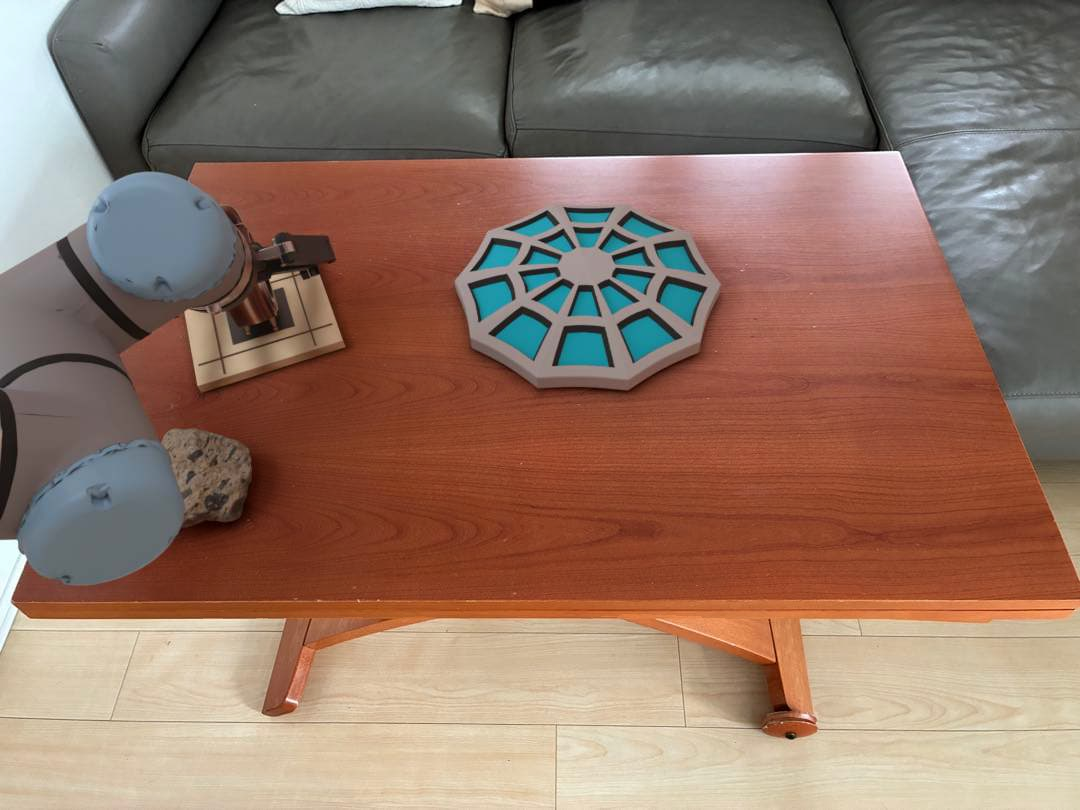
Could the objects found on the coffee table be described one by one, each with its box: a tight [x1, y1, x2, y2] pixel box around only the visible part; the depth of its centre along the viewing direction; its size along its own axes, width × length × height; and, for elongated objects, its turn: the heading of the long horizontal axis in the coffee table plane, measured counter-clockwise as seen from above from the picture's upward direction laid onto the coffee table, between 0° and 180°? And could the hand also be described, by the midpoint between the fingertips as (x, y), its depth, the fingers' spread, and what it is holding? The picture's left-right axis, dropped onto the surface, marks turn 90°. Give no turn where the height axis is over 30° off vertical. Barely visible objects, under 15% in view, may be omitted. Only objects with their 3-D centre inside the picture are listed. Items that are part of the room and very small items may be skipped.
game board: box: [183, 271, 346, 394], centre depth 89 cm, size 16×16×1 cm
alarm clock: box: [214, 198, 278, 335], centre depth 83 cm, size 11×5×15 cm, turn 23°
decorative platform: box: [454, 203, 722, 391], centre depth 88 cm, size 31×29×5 cm
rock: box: [160, 427, 253, 529], centre depth 73 cm, size 11×11×4 cm
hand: (237, 285), depth 80 cm, fingers open, 13 cm apart
